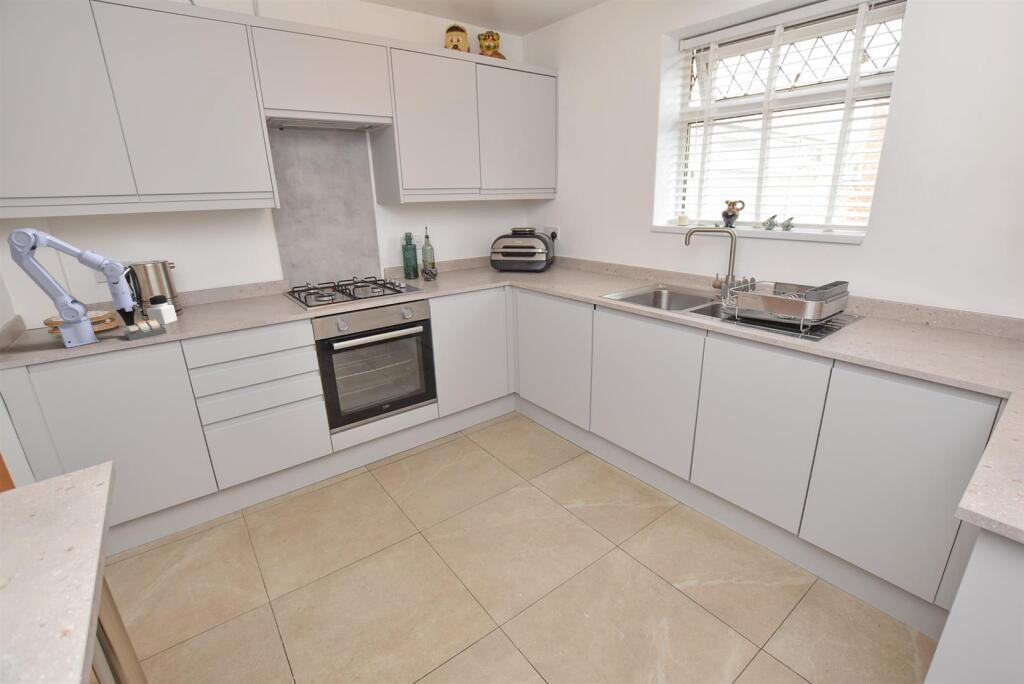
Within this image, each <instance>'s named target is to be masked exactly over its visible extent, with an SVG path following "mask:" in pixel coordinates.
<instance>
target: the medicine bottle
mask: <svg viewBox="0 0 1024 684" xmlns="http://www.w3.org/2000/svg"><path fill="white" fill-rule="evenodd" d="M148 302H149V305H150V307H149V308H146V313H147V317H148V320H153V319H155V320H156V321H157V322H158V323H159V324H160V325H161V326H162V325H163V326H165V325H168V324H171V323H174V322H177V321H178V318H177V317H178V316H177V314H176V310H175V306H174V305H173V304H168V300H167V296H166V295H163V294H157V295H152V296H150V297H149V298H148Z"/></svg>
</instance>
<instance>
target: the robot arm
mask: <svg viewBox="0 0 1024 684" xmlns="http://www.w3.org/2000/svg"><path fill="white" fill-rule="evenodd" d="M6 242H7V243H8V245H9V251H10V257H11V259H12V261H13V262H14V263H15V264H16V265H17V266H18V267H19V268H20V269H21V270H22V271H23V272H24V273H25V274H26V275H27V276H28V277H29V278H30V279H31V280H32V281H33V282H34V283H35V284H36V286H37V287H39V288H40V289H41V291H42V292H43V293H45V294H46V296H48V298H49V299H50V300H51V301H52V303H53V305H54V308H55V309H56V310H57V312H58V315H59V317H60V319H62V320H63V322H62V323H58V324H57V327H58V330H59V333H60V336H61V341H62V344H64V346H65V347H66V348H67V349H69V348H74V347H78V346H79V347H80V346H85V345H88V344H93V343H98V342H100V340H99V338H97V337H96V334H95V332H94V329H93V326H92V322H91V319H90V317H89V316H88V315H87V314H88V312H89V311H88V306H87V305H86V304H85V303H84V302H82V301H80V300H78V299H77V298H76V297H75V296H73V295H71V294H70V293H69V292H67V291H66V289H64V287H62V286H61V284H60V283H59V282H58V281H57V280H56V278H54V277H53V276H52V274H50V272H49V271H48V270H47V269H46V268H45V267H44V266H43V265H42V264H41V263H40V262H39V261H38V260H37V259H36V258H35V254H36V250H37V248H38V247H40V248H41V247H42V248H45V247H46V248H51V249H53V250H57V251H59V252H61V253H63V254H65V255H68V256H71V257H74V258H76V260H77V261H78V263H79V264H81V265H83V266H86V267H87V268H89V269H92V270H94V271H97V272H98V273H100V272H101V273H102V275H103V276H104V277H105V278H106V280H107V285H108V288H109V292H110V294H111V298H112V302H113V306H114V308H116V310H115V312H117V314H119V316H120V317H121V319H122V320H123V322H124V324H125V327H126V326H132V325H135V313H136V308H135V307H134V305H137V304H138V302H137V301H133V298H132V295H131V291H130V288H129V285H128V282H127V279H126V277H125V274H124V272H125V267H124V265H123V264H122V263H121V262H119V261H117V260H112V258H110V257H105V256H102V255H101V254H98V252H97V251H95V250H90V249H86V250H85V249H84V250H81V249H79V248H77V247H76V246H73V245H71V244H69V243H67V242H65V241H64V240H62V239H59V238H57V237H55V236H53V235H51V234H49V233H46V232H44V231H40V230H38V229H36V228H35V227H34V228H33V227H25V228H16V229H13V230H12V231H10V233H9V235H8V238H7V241H6Z"/></svg>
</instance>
